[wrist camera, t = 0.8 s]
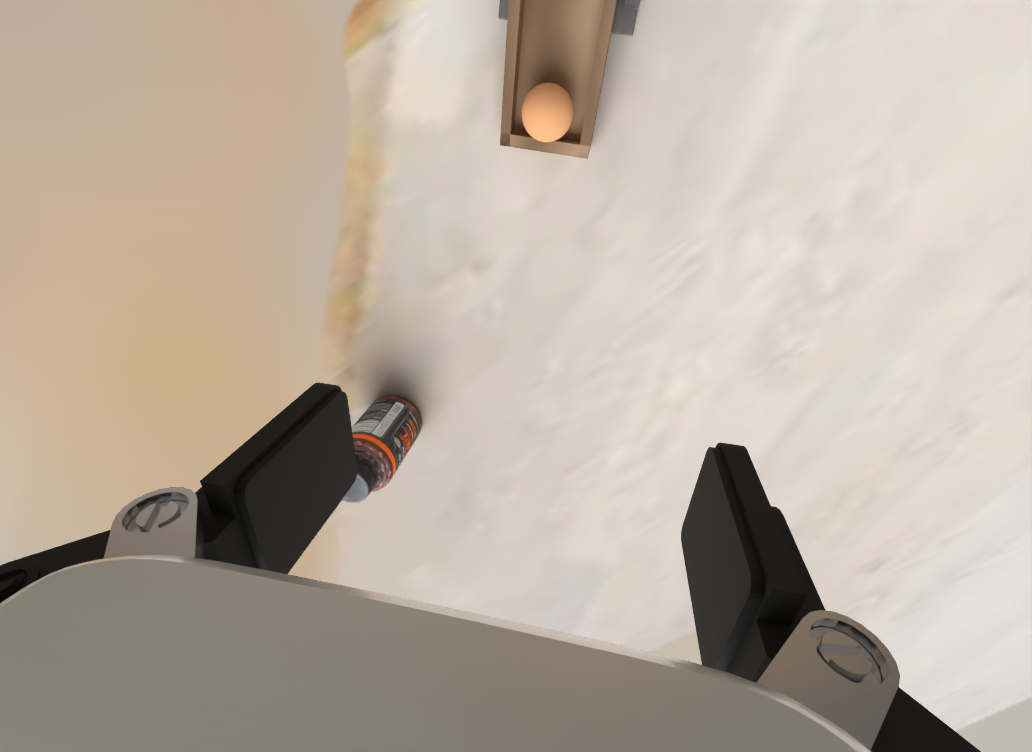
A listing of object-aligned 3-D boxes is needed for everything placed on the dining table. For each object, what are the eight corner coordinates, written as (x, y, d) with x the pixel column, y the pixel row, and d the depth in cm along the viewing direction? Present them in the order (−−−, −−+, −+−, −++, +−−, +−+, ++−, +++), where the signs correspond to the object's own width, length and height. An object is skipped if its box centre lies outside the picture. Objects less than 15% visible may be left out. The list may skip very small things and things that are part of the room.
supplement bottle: (427, 441, 50) (384, 516, 41) (376, 437, 51) (322, 509, 42) (420, 394, 48) (372, 462, 38) (366, 391, 49) (306, 457, 39)
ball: (579, 86, 31) (575, 87, 28) (570, 142, 33) (566, 148, 30) (529, 79, 31) (520, 79, 29) (523, 135, 33) (514, 141, 31)
